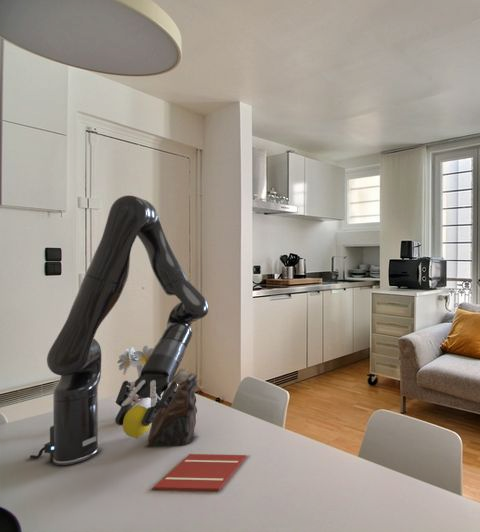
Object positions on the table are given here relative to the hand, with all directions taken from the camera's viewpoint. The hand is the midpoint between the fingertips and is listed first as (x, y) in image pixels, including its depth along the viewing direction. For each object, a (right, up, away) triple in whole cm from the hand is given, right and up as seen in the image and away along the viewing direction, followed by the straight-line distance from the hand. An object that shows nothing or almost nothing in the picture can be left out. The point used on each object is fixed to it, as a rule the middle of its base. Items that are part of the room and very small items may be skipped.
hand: (131, 424), depth 87 cm
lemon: (0, -4, +2) cm, 5 cm away
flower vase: (-27, -15, +41) cm, 51 cm away
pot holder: (+12, -16, +9) cm, 22 cm away
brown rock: (-7, -16, +26) cm, 32 cm away
